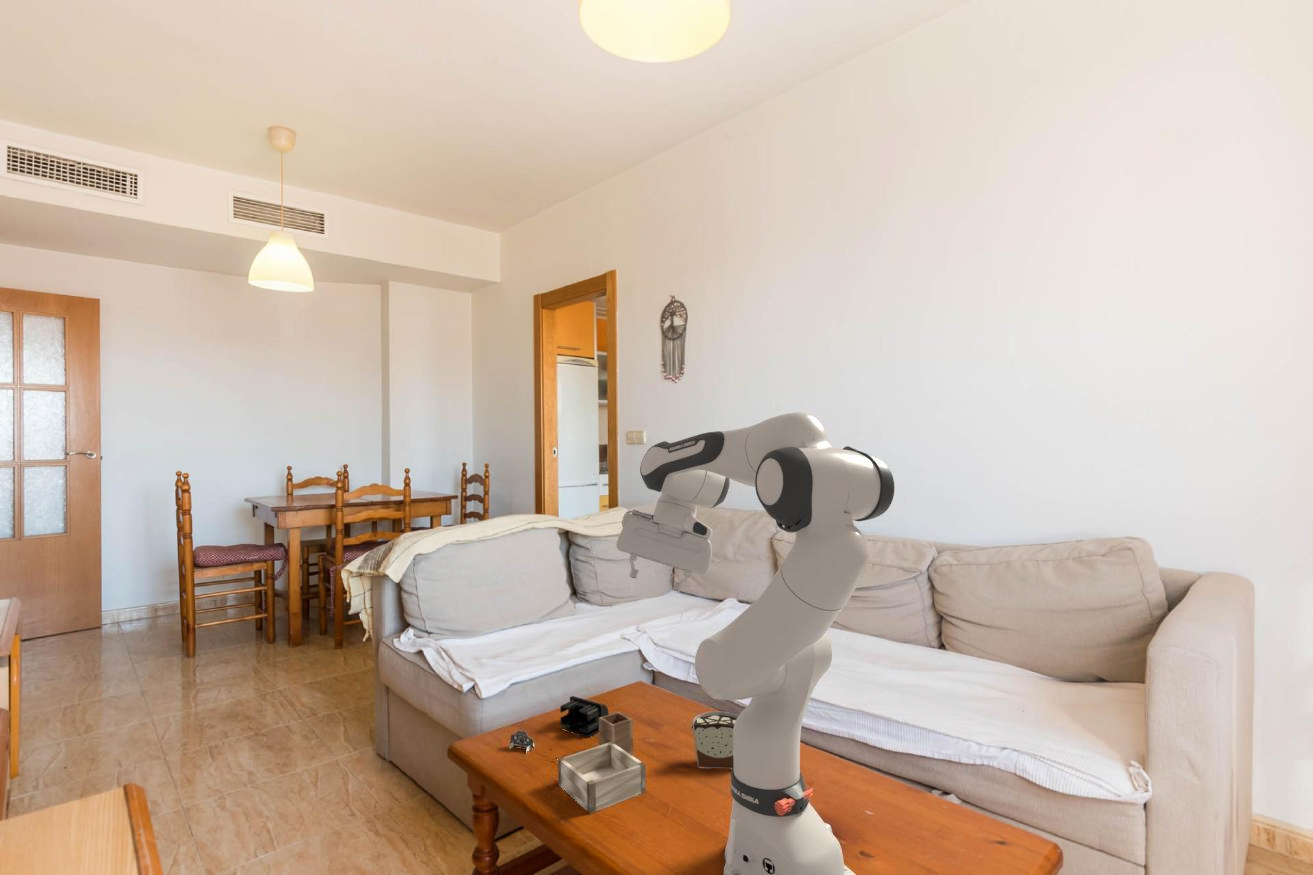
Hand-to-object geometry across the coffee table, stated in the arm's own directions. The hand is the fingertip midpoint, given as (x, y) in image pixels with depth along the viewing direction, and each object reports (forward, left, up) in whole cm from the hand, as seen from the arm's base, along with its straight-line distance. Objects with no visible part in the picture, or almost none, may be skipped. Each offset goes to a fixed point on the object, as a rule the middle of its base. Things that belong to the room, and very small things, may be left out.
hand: (654, 584), depth 139 cm
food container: (-3, -15, -41) cm, 43 cm away
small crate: (+14, +1, -40) cm, 43 cm away
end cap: (+30, 0, -41) cm, 51 cm away
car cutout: (+26, +15, -41) cm, 51 cm away
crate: (+3, +11, -40) cm, 42 cm away
